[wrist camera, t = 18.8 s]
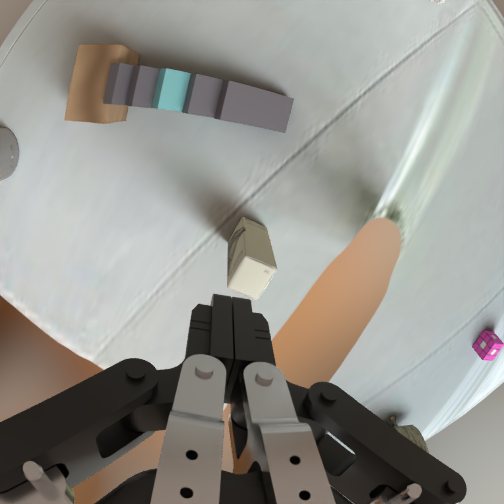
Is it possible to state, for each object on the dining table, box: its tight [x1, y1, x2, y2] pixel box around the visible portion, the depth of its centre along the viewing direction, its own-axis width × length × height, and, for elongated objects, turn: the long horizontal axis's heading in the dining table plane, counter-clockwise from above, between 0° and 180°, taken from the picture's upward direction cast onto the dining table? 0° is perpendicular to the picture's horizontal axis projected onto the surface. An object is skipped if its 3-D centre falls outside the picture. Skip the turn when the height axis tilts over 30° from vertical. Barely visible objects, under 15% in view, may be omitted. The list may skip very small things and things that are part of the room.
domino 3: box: [152, 68, 192, 112], centre depth 36 cm, size 2×5×10 cm
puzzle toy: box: [472, 330, 504, 361], centre depth 63 cm, size 6×6×6 cm
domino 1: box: [103, 63, 134, 105], centre depth 34 cm, size 2×5×10 cm, turn 167°
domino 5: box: [215, 80, 294, 133], centre depth 38 cm, size 2×5×10 cm
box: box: [227, 217, 277, 300], centre depth 43 cm, size 5×4×13 cm
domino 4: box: [182, 74, 223, 118], centre depth 37 cm, size 2×5×10 cm
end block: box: [65, 44, 140, 124], centre depth 34 cm, size 6×10×8 cm, turn 166°
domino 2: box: [125, 65, 160, 109], centre depth 35 cm, size 2×5×10 cm
